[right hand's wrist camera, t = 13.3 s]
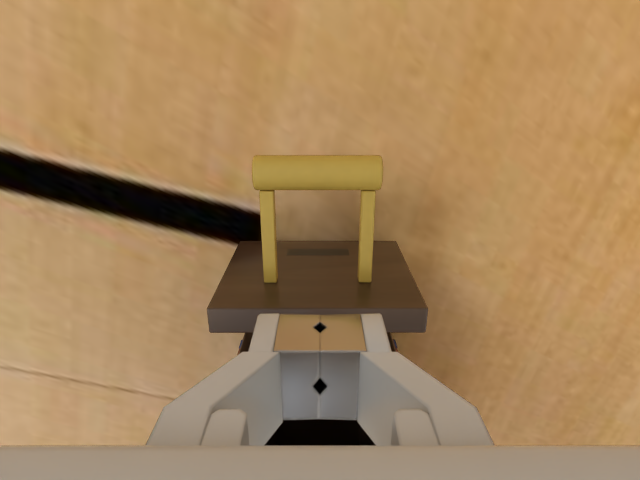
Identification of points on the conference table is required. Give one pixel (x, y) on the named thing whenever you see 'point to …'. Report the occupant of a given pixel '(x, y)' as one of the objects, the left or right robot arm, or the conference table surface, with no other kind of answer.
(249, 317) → the drawer
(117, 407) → the conference table surface
